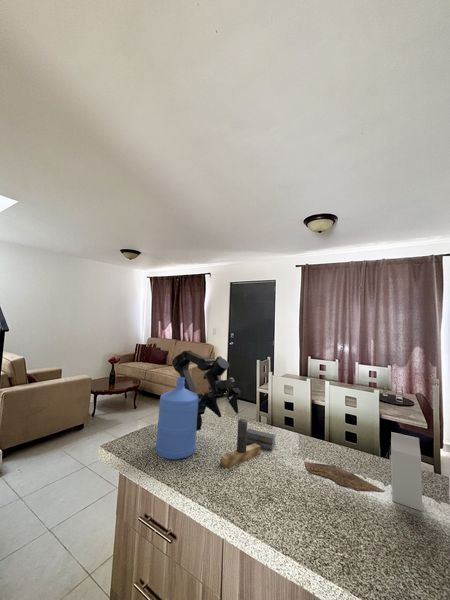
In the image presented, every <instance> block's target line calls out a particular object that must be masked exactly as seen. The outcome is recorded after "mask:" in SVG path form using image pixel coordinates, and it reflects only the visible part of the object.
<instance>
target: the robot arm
mask: <svg viewBox="0 0 450 600" xmlns="http://www.w3.org/2000/svg"><path fill="white" fill-rule="evenodd" d="M190 363H193V364H195V365H197V369H198V370H200V371H202V372H204V375H203V380H206V381H207V384H208V386H209V387H208V389H209V392H204V394H203V393H198V391H197V389H196V386H195V383H194V381H193V378H192V376H191V373H190V371H189V367H190ZM171 364H172V365H171V366H172V367H173V368H174V371H176V372H177V373H178V374H179V377H184V378H185V379H184V382H185V384H184V388H185V389H187V390H189V391H191V392H193V393H195V394H197V395H198V401H199V403H198V413H197V429H196V431H199V430H200V431H201V430H202V423H203V422H202V421H203V417H202V415H205V411H206V408H207V409H209V410H211V411H212V413H214V414H215V415H216V416H217V417H218V418H222V413H221V410H220V408H219V406H218V403H217V400H220V399H225V398H226V399H227V400H228V401H227V402H228V403H229V405H230V407H231V408H232V409H233V411H234V413H235V414H238V413H239V405H238V398H239V396H240V394H241V390H240V388H238V387H237V388H234V386H235V384H236V381H235V379H234V378H233V377H229V378H227V379H221V376H223V374H225V372H226V371H227V370H228V368H229V367H230V363H229V362H228V360H227V359H225V358H223V357H222V356H217V357H216V358H215V359H214V358H213V357H204V356H202V355H199V354H198V353H195V352H194V351H192V350H183V351H182V352H181V353H180V354H177V355H176V356H175V357H174V358H173V359H172V362H171ZM205 371H207V372H205ZM229 388H231V389H229Z"/></svg>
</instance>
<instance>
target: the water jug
mask: <svg viewBox="0 0 450 600" xmlns="http://www.w3.org/2000/svg"><path fill="white" fill-rule="evenodd" d="M176 379H177V380H176V387H175V388H173V389H170V390H169V391H167V392H163V393H162V394H161V395H160V398H159V402H158V403H159V404H158V409H159V410H158V419H157V420H158V421H157V433H156V434H157V435H156V443H155V453H156V454H157V455H158V457H161V458H163V459H166V460H182V459H186V458H188V457H190V456H191V455H193V454H194V452H195V451H196V449H197V442H196V441H197V430H196V429H197V413H198V403H199V401H198V395H197V394H195V393H193V392H191V391H189V390H187V389H185V387H184V384H185V382H184V379H185V378H184V377H181V376H179V377H177V378H176Z"/></svg>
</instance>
